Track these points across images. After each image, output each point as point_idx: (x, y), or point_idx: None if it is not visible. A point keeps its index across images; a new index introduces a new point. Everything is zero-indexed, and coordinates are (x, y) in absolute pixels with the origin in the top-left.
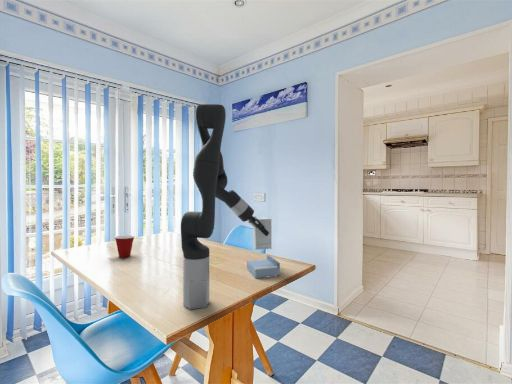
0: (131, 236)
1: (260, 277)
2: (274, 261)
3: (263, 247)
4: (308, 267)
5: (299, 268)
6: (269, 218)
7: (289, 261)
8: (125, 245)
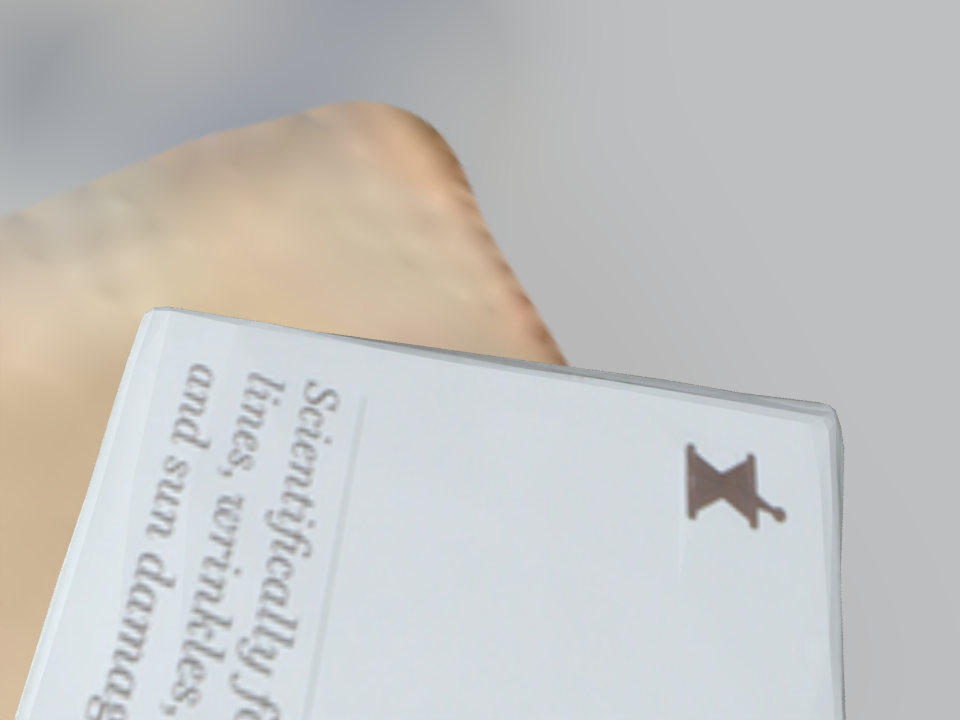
0: None
1: None
2: None
3: None
4: (431, 152)
5: (426, 240)
6: (698, 450)
7: (170, 209)
8: None
